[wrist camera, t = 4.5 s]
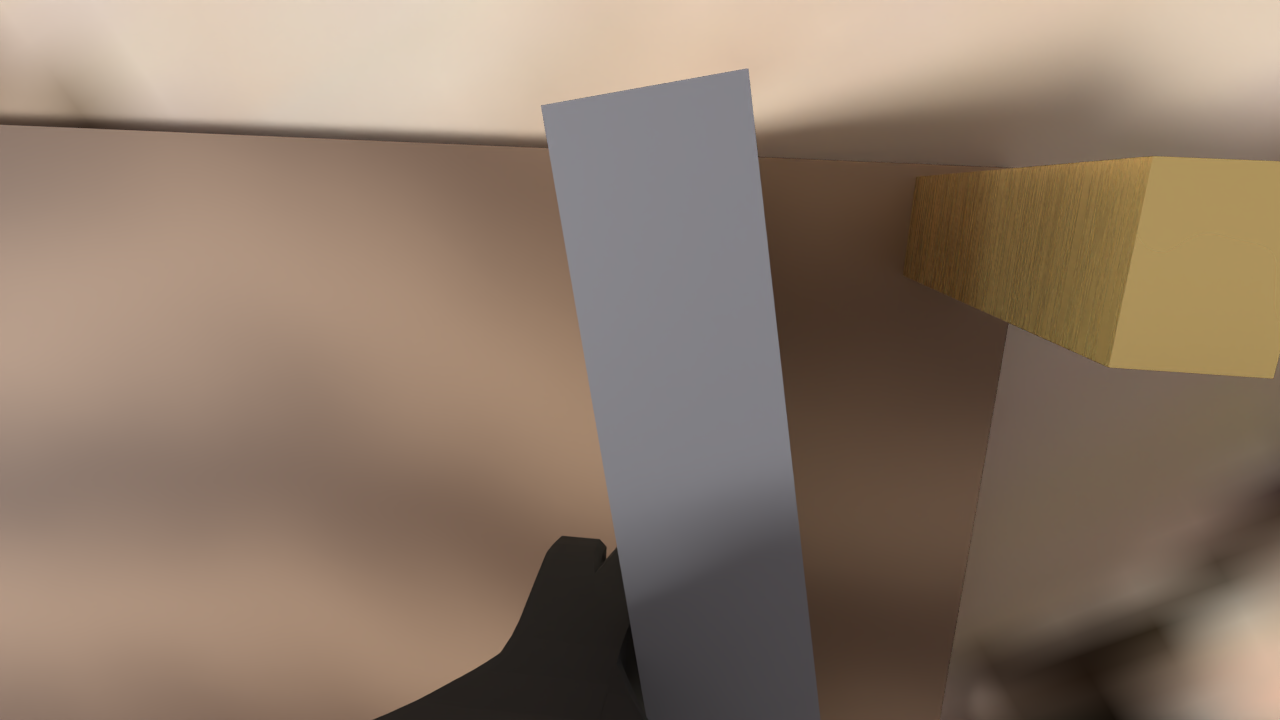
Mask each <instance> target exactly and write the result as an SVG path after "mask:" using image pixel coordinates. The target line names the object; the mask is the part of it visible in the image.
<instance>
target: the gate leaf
mask: <svg viewBox="0 0 1280 720" xmlns="http://www.w3.org/2000/svg"><path fill="white" fill-rule="evenodd" d="M541 108H542V114H543V120H544V126H545V132H546V137H547V143H548V149H549V155H550V161H551V166H552V172H553V178H554V184H555V190H556V196H557V201H558V207H559V213H560V219H561V225H562V230H563V236H564V242H565V248H566V254H567V259H568V265H569V271H570V277H571V283H572V288H573V294H574V300H575V306H576V312H577V317H578V323H579V329H580V335H581V341H582V346H583V352H584V358H585V364H586V370H587V375H588V381H589V387H590V393H591V399H592V404H593V410H594V416H595V422H596V428H597V434H598V439H599V445H600V451H601V457H602V463H603V468H604V474H605V480H606V486H607V492H608V497H609V503H610V509H611V515H612V521H613V526H614V532H615V538H616V544H617V550H618V555H619V561H620V567H621V573H622V579H623V584H624V590H625V596H626V602H627V608H628V613H629V619H630V625H631V631H632V637H633V642H634V648H635V654H636V660H637V666H638V671H639V677H640V683H641V689H642V695H643V701H644V706H645V712H646V717H647V718H648V720H820V711H819V702H818V693H817V684H816V675H815V666H814V657H813V648H812V639H811V630H810V621H809V612H808V602H807V593H806V584H805V575H804V566H803V557H802V548H801V539H800V530H799V521H798V512H797V503H796V494H795V485H794V476H793V467H792V458H791V449H790V440H789V431H788V422H787V413H786V404H785V395H784V386H783V377H782V368H781V359H780V350H779V341H778V332H777V323H776V314H775V305H774V296H773V287H772V278H771V269H770V260H769V251H768V242H767V233H766V224H765V215H764V206H763V197H762V188H761V179H760V170H759V161H758V152H757V143H756V134H755V125H754V116H753V107H752V98H751V89H750V80H749V71H748V69H742V70H736V71H731V72H725V73H720V74H714V75H709V76H703V77H697V78H692V79H686V80H681V81H675V82H669V83H664V84H658V85H653V86H647V87H642V88H636V89H630V90H625V91H619V92H614V93H608V94H602V95H597V96H591V97H586V98H580V99H575V100H569V101H563V102H558V103H552V104H547V105H541Z"/></svg>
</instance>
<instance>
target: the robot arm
mask: <svg viewBox="0 0 1280 720" xmlns="http://www.w3.org/2000/svg"><path fill="white" fill-rule="evenodd" d="M606 551H607V547H606V545H605V544H604V543H603V542H602V541H601V540H600V539H594V538H582V537H571V536H561V537H560V538H559V539H558V540H557V541H556V542H555V543H554V544H553V545H552V546H551V547H550V549H549V550H548V551H547V553H546V555H545V557H544V559H543V562H542V564H541V567H540V569H539V572H538V574H537V577H536V579H535V582H534V584H533V587H532V589H531V592H530V594H529V597H528V599H527V602H526V605H525V607H524V610H523V612H522V615H521V617H520V620H519V622H518V624H517V626H516V628H515V630H514V632H513V634H512V636H511V637H510V639H509V640H508V642H507V643H506V645H505V646H504V648H503V649H502V651H501V652H500V653H499V654H498V655H496V656H495V657H493V658H491V659H490V660H488V661H487V662H485V663H484V664H482V665H480V666H479V667H477V668H476V669H474V670H472V671H470V672H468V673H466V674H465V675H463V676H461V677H459V678H457V679H455V680H454V681H452V682H450V683H448V684H446V685H444V686H443V687H441V688H439V689H437V690H435V691H433V692H432V693H430V694H428V695H426V696H424V697H422V698H420V699H418V700H416V701H414V702H412V703H410V704H407V705H405V706H403V707H401V708H399V709H396V710H394V711H392V712H390V713H388V714H385V715H383V716H380V717H378V718H376V719H373V720H648V718H647V717H646V712H645V706H644V701H643V695H642V689H641V683H640V677H639V671H638V666H637V660H636V654H635V648H634V642H633V637H632V631H631V625H630V619H629V613H628V608H627V602H626V596H625V590H624V584H623V579H622V573H621V567H620V561H619V555H618V550H617V547H616V548H615V550H614V551H613V552H612V553H611V554H610V555H609V556H608V558H607V559H606Z"/></svg>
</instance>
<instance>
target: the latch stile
mask: <svg viewBox="0 0 1280 720" xmlns="http://www.w3.org/2000/svg"><path fill="white" fill-rule="evenodd" d="M903 276H905V277H907V278H909V279H912V280H914V281H916V282H918V283H921V284H923V285H925V286H927V287H930V288H932V289H934V290H936V291H939V292H941V293H943V294H945V295H948V296H950V297H952V298H954V299H956V300H959V301H961V302H963V303H965V304H968V305H970V306H972V307H974V308H977V309H979V310H981V311H983V312H986V313H988V314H990V315H992V316H995V317H997V318H999V319H1001V320H1004V321H1006V322H1008V323H1010V324H1012V325H1015V326H1017V327H1019V328H1021V329H1024V330H1026V331H1028V332H1030V333H1033V334H1035V335H1037V336H1039V337H1042V338H1044V339H1046V340H1048V341H1051V342H1053V343H1055V344H1057V345H1060V346H1062V347H1064V348H1066V349H1068V350H1071V351H1073V352H1075V353H1077V354H1080V355H1082V356H1084V357H1086V358H1089V359H1091V360H1093V361H1095V362H1098V363H1100V364H1102V365H1104V366H1107V367H1110V368H1124V369H1139V370H1154V371H1169V372H1183V373H1198V374H1213V375H1227V376H1242V377H1257V378H1271V379H1273V378H1274V374H1275V370H1276V366H1277V363H1278V359H1279V355H1280V161H1261V160H1236V159H1211V158H1187V157H1162V156H1149V157H1138V158H1126V159H1115V160H1103V161H1092V162H1080V163H1068V164H1057V165H1045V166H1034V167H1022V168H1011V169H999V170H988V171H976V172H965V173H953V174H942V175H930V176H919V177H916V183H915V190H914V198H913V205H912V212H911V220H910V227H909V235H908V242H907V249H906V257H905V264H904V272H903Z"/></svg>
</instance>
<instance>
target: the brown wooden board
mask: <svg viewBox="0 0 1280 720" xmlns="http://www.w3.org/2000/svg"><path fill="white" fill-rule="evenodd" d="M758 161H759V170H760V179H761V188H762V197H763V206H764V215H765V224H766V233H767V242H768V251H769V260H770V269H771V278H772V287H773V296H774V305H775V314H776V323H777V332H778V341H779V350H780V359H781V368H782V377H783V386H784V395H785V404H786V413H787V422H788V431H789V440H790V449H791V458H792V467H793V476H794V485H795V494H796V503H797V512H798V521H799V530H800V539H801V548H802V557H803V566H804V575H805V584H806V593H807V602H808V612H809V621H810V630H811V639H812V648H813V657H814V666H815V675H816V684H817V693H818V702H819V711H820V720H940V715H941V709H942V704H943V698H944V692H945V686H946V681H947V675H948V669H949V663H950V657H951V652H952V646H953V640H954V634H955V629H956V623H957V617H958V611H959V605H960V600H961V594H962V588H963V582H964V577H965V571H966V565H967V559H968V554H969V548H970V542H971V536H972V530H973V525H974V519H975V513H976V507H977V502H978V496H979V490H980V484H981V478H982V473H983V467H984V461H985V455H986V450H987V444H988V438H989V432H990V427H991V421H992V415H993V409H994V403H995V398H996V392H997V386H998V380H999V375H1000V369H1001V363H1002V357H1003V351H1004V346H1005V340H1006V334H1007V328H1008V322H1006V321H1004V320H1001V319H999V318H997V317H995V316H992V315H990V314H988V313H986V312H983V311H981V310H979V309H977V308H974V307H972V306H970V305H968V304H965V303H963V302H961V301H959V300H956V299H954V298H952V297H950V296H948V295H945V294H943V293H941V292H939V291H936V290H934V289H932V288H930V287H927V286H925V285H923V284H921V283H918V282H916V281H914V280H912V279H909V278H907V277H905V276H903V272H904V264H905V257H906V249H907V242H908V235H909V227H910V220H911V212H912V205H913V198H914V190H915V183H916V177H919V176H930V175H942V174H953V173H965V172H976V171H988V170H999V169H1011V168H1003V167H979V166H956V165H932V164H909V163H885V162H862V161H839V160H815V159H792V158H768V157H758ZM561 536H571V537H582V538H594V539H600V540H601V541H602V542H603V543H604V544H605V545H606V547H607V551H606V559H607V558H608V556H609V555H610V554H611V553H612V552H613V551H614V550H615V548H616V547H617V544H616V538H615V532H614V526H613V521H612V515H611V509H610V503H609V497H608V492H607V486H606V480H605V474H604V468H603V463H602V457H601V451H600V445H599V439H598V434H597V428H596V422H595V416H594V410H593V404H592V399H591V393H590V387H589V381H588V375H587V370H586V364H585V358H584V352H583V346H582V341H581V335H580V329H579V323H578V317H577V312H576V306H575V300H574V294H573V288H572V283H571V277H570V271H569V265H568V259H567V254H566V248H565V242H564V236H563V230H562V225H561V219H560V213H559V207H558V201H557V196H556V190H555V184H554V178H553V172H552V166H551V161H550V155H549V149H548V148H534V147H511V146H487V145H464V144H440V143H417V142H394V141H370V140H347V139H323V138H300V137H276V136H253V135H230V134H206V133H183V132H159V131H136V130H113V129H89V128H66V127H42V126H19V125H0V720H373V719H376V718H378V717H380V716H383V715H385V714H388V713H390V712H392V711H394V710H396V709H399V708H401V707H403V706H405V705H407V704H410V703H412V702H414V701H416V700H418V699H420V698H422V697H424V696H426V695H428V694H430V693H432V692H433V691H435V690H437V689H439V688H441V687H443V686H444V685H446V684H448V683H450V682H452V681H454V680H455V679H457V678H459V677H461V676H463V675H465V674H466V673H468V672H470V671H472V670H474V669H476V668H477V667H479V666H480V665H482V664H484V663H485V662H487V661H488V660H490V659H491V658H493V657H495V656H496V655H498V654H499V653H500V652H501V651H502V649H503V648H504V646H505V645H506V643H507V642H508V640H509V639H510V637H511V636H512V634H513V632H514V630H515V628H516V626H517V624H518V622H519V620H520V617H521V615H522V612H523V610H524V607H525V605H526V602H527V599H528V597H529V594H530V592H531V589H532V587H533V584H534V582H535V579H536V577H537V574H538V572H539V569H540V567H541V564H542V562H543V559H544V557H545V555H546V553H547V551H548V550H549V549H550V547H551V546H552V545H553V544H554V543H555V542H556V541H557V540H558V539H559V538H560V537H561Z"/></svg>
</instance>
